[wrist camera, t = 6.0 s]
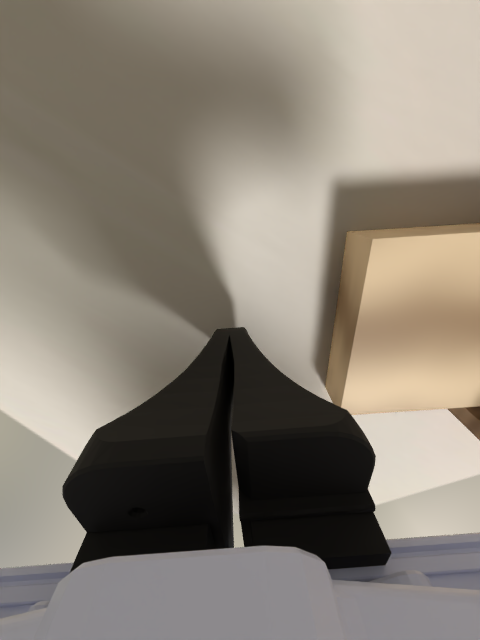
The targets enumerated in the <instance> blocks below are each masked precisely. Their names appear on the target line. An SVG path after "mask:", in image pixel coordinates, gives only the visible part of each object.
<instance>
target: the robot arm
mask: <svg viewBox="0 0 480 640" xmlns="http://www.w3.org/2000/svg"><path fill="white" fill-rule="evenodd" d="M232 413H233V415H232ZM231 432H232V440H233V448H234V455H235V463H236V470H237V478H238V486H239V516H240V521H241V526H242V533H243V540H244V547H240V548H234V541H233V540H234V538H233V505H232V462H231ZM375 457H376V456H375V454H374V451H373V448H372V446H371V445H370V443H369V441H368V439H367V437H366V436H365V434H364V433H363V431H362V430H361V428H360V427H359V425H358V424H357V423H356V421H355V420H354V418H353V417H352V416H351V414H350V413H349V412H348V410H346V409H343V408H341V407H339V406H337V405H335V404H333V403H331V402H328V401H326V400H324V399H322V398H320V397H318V396H316V395H315V394H313V393H311V392H309V391H307V390H306V389H304V388H302V387H301V386H299V385H298V384H296V383H295V382H293V381H292V380H291V379H289V378H288V377H286V376H285V375H284V374H283V373H281V372H280V371H279V370H278V369H277V368H276V367H275V366H274V365H273V364H272V363H271V362H270V361H269V360H268V359H267V358H266V357H265V356H264V355H263V354H262V353H261V352H260V350H259V349H258V348H257V346H256V345H255V344H254V342H253V341H252V339H251V338H250V336H249V335H248V333H247V330H246V329H245V328H244V327H241V328H228V329H217V330H216V331H215V332H214V334H213V336H212V337H211V339H210V340H209V342H208V343H207V345H206V346H205V347H204V349H203V350H202V351H201V353H200V354H199V355H198V356H197V357H196V359H195V360H194V361H193V362H192V363H191V364H190V366H189V367H188V368H187V369H186V370H185V371H184V372H183V373H182V374H181V375H180V376H178V377H177V378H176V379H175V380H174V381H173V382H171V383H170V384H169V385H168V386H166V387H165V388H164V389H162V390H161V391H160V392H159V393H157V394H156V395H155V396H153V397H152V398H150V399H149V400H147V401H146V402H144V403H143V404H141V405H140V406H138V407H136V408H135V409H133V410H131V411H130V412H128V413H126V414H125V415H123V416H121V417H119V418H117V419H115V420H114V421H112V422H110V423H108V424H106V425H104V426H102V427H100V428H98V429H97V430H96V431H95V432H94V434H93V435H92V437H91V438H90V440H89V441H88V443H87V444H86V446H85V448H84V450H83V451H82V453H81V455H80V457H79V458H78V460H77V462H76V464H75V466H74V467H73V469H72V471H71V472H70V474H69V476H68V478H67V479H66V481H65V483H64V485H63V498H64V500H65V502H66V504H67V506H68V508H69V509H70V510H71V512H72V513H73V514H74V515H75V517H76V518H77V520H78V521H79V522H80V524H81V525H82V526H83V528H84V529H85V530H86V532H87V534H86V536H85V538H84V540H83V543H82V546H81V547H80V550H79V552H78V554H77V557H76V559H75V561H74V563H62V564H48V565H35V566H22V567H8V568H0V640H480V533H468V534H455V535H442V536H428V537H414V538H401V539H387V540H386V539H385V537H384V535H383V533H382V530H381V528H380V526H379V524H378V521H377V519H376V517H375V515H374V513H373V512H374V511H375V504H374V502H373V500H372V497H371V495H370V493H369V491H368V486H369V483H370V479H371V476H372V473H373V469H374V466H375Z"/></svg>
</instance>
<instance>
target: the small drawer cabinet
mask: <svg viewBox="0 0 480 640" xmlns="http://www.w3.org/2000/svg"><path fill="white" fill-rule="evenodd" d="M447 409H448V410H449V411H450V412H451V413H452V414H453V415H454V416H455V417H456V418H457V419H458V420H459V421H460V422H461V423H462V424H463V425H465V426H466V427H467V428H468V429H469V430H470V431H471V432H472V433H473V434H474V435H475V436H476V437H477V438H478V439H479V440H480V406H477V407H462V408H447Z"/></svg>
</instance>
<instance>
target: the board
mask: <svg viewBox="0 0 480 640" xmlns="http://www.w3.org/2000/svg"><path fill="white" fill-rule="evenodd" d="M325 388H326V390H327V392H328V394H329V396H330V398H331V400H332V402H333V404H335V405H337V406H339V407H341V408H343V409H346V410H348V412H349V413H350V414H351V415H357V414H372V413H387V412H402V411H417V410H432V409H447V408H462V407H477V406H480V223H472V224H457V225H441V226H425V227H410V228H394V229H378V230H362V231H347V236H346V243H345V250H344V257H343V264H342V271H341V278H340V286H339V293H338V300H337V307H336V314H335V321H334V328H333V335H332V343H331V350H330V357H329V364H328V371H327V378H326V385H325Z"/></svg>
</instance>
